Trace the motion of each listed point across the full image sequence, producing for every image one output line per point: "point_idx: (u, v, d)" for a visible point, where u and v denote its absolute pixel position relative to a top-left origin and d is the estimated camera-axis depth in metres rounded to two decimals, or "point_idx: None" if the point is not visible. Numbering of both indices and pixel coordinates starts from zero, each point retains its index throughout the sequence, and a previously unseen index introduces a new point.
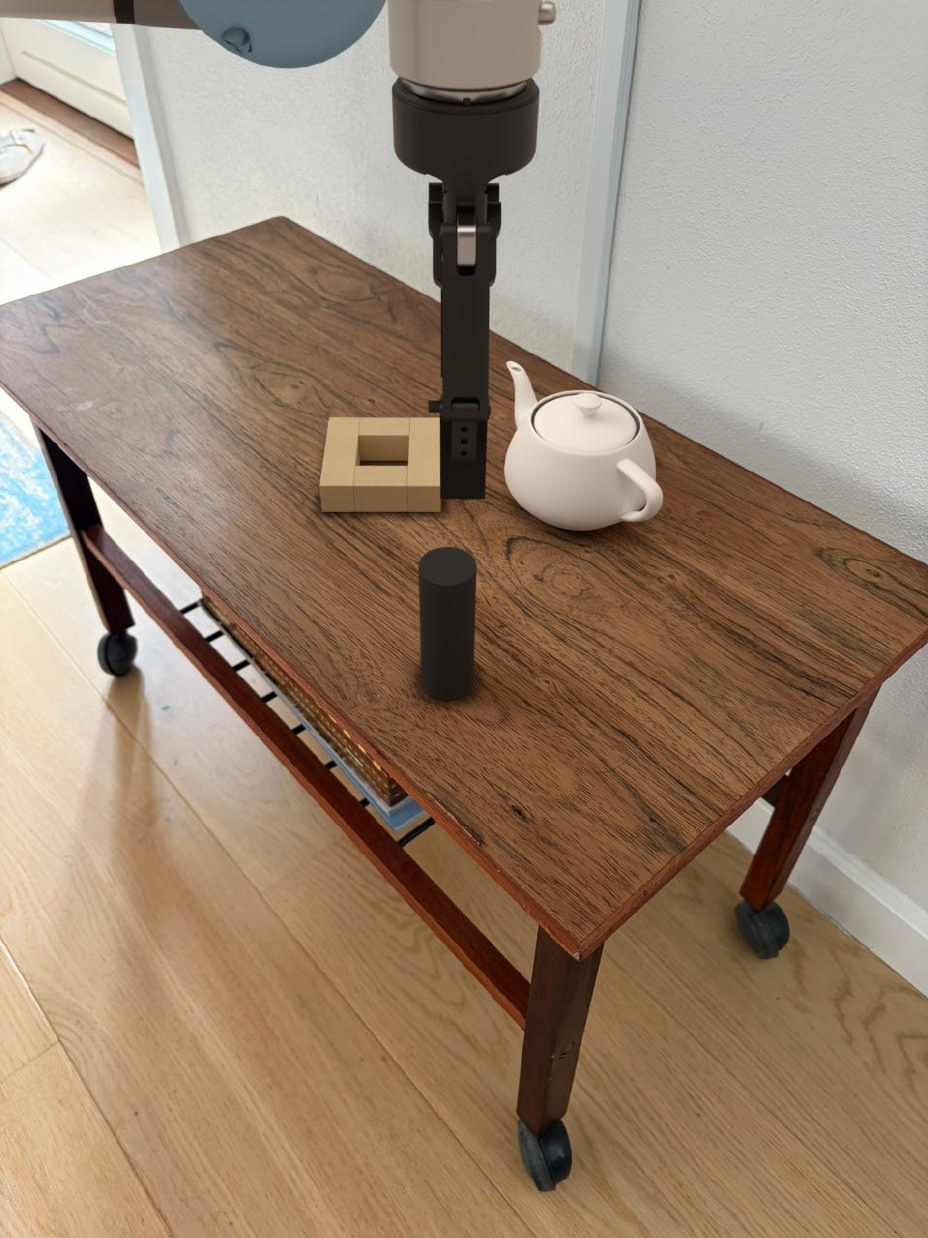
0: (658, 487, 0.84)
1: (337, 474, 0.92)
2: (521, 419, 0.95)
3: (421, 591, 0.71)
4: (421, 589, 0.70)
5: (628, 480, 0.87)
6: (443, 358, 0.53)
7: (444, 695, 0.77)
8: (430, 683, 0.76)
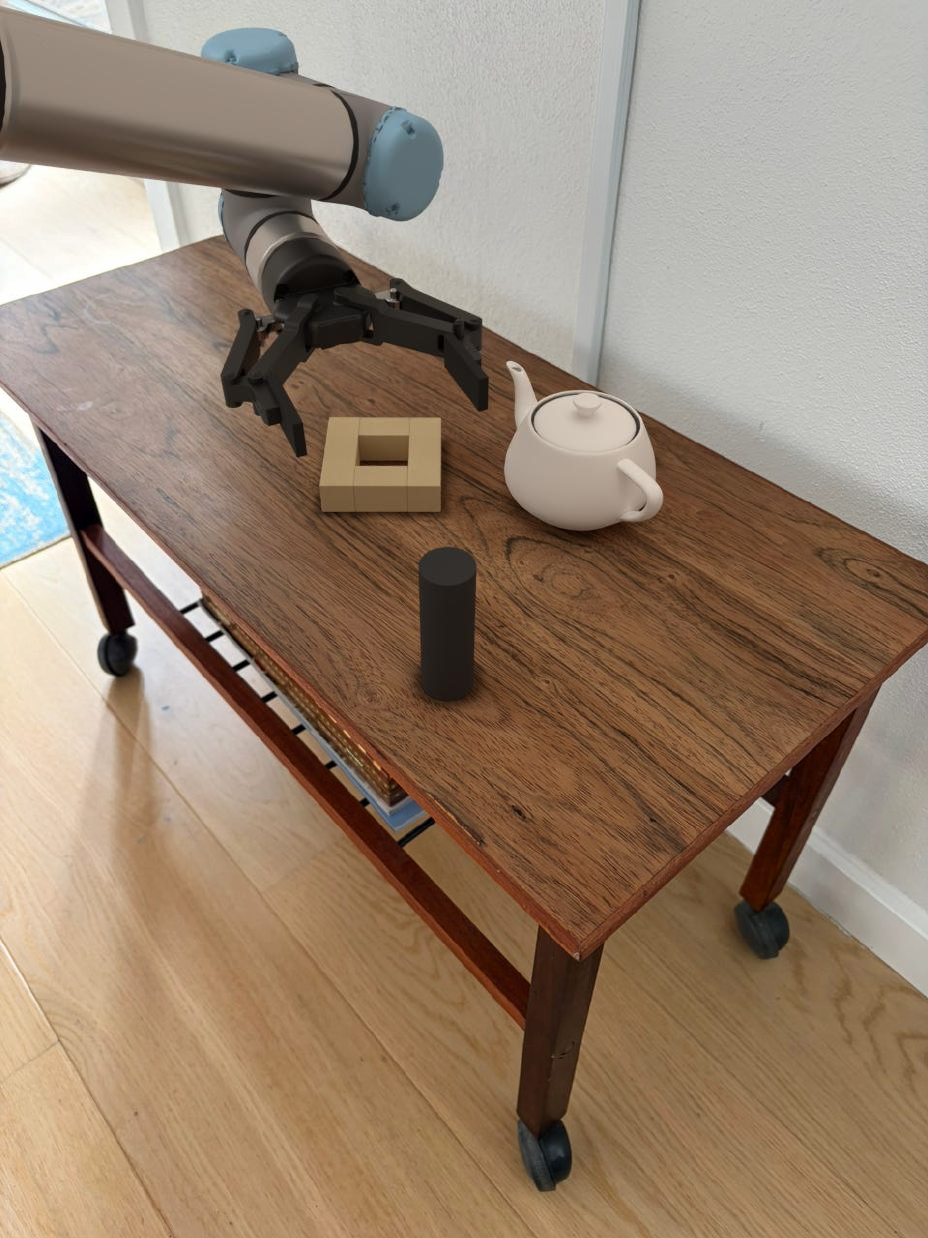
0: (658, 487, 0.84)
1: (337, 474, 0.92)
2: (521, 419, 0.95)
3: (421, 591, 0.71)
4: (421, 589, 0.70)
5: (628, 480, 0.87)
6: (452, 306, 0.79)
7: (444, 695, 0.77)
8: (430, 683, 0.76)
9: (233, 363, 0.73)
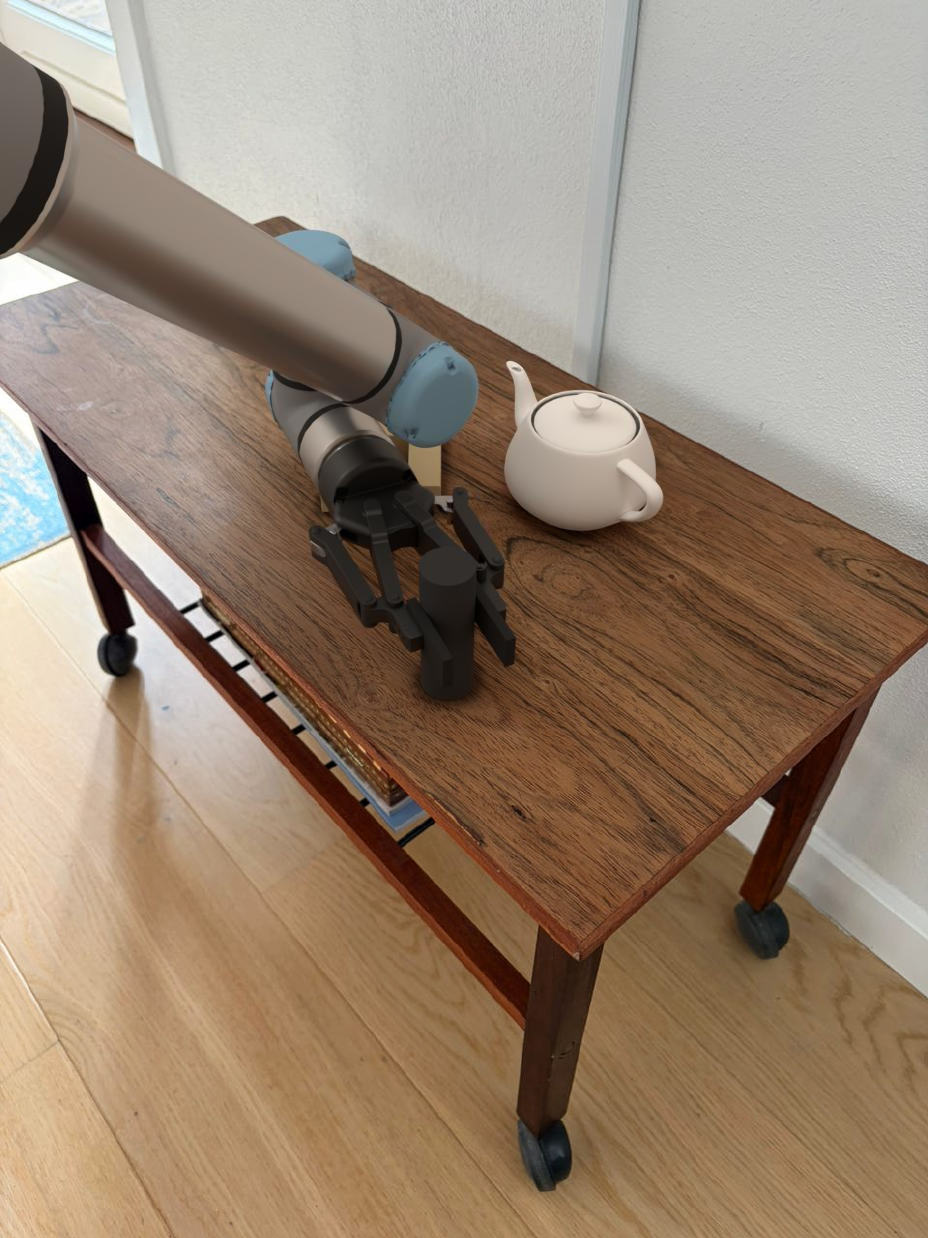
0: (658, 487, 0.84)
1: None
2: (521, 419, 0.95)
3: (421, 591, 0.71)
4: (421, 589, 0.70)
5: (628, 480, 0.87)
6: (489, 536, 0.77)
7: (444, 695, 0.77)
8: (430, 683, 0.76)
9: (360, 585, 0.73)
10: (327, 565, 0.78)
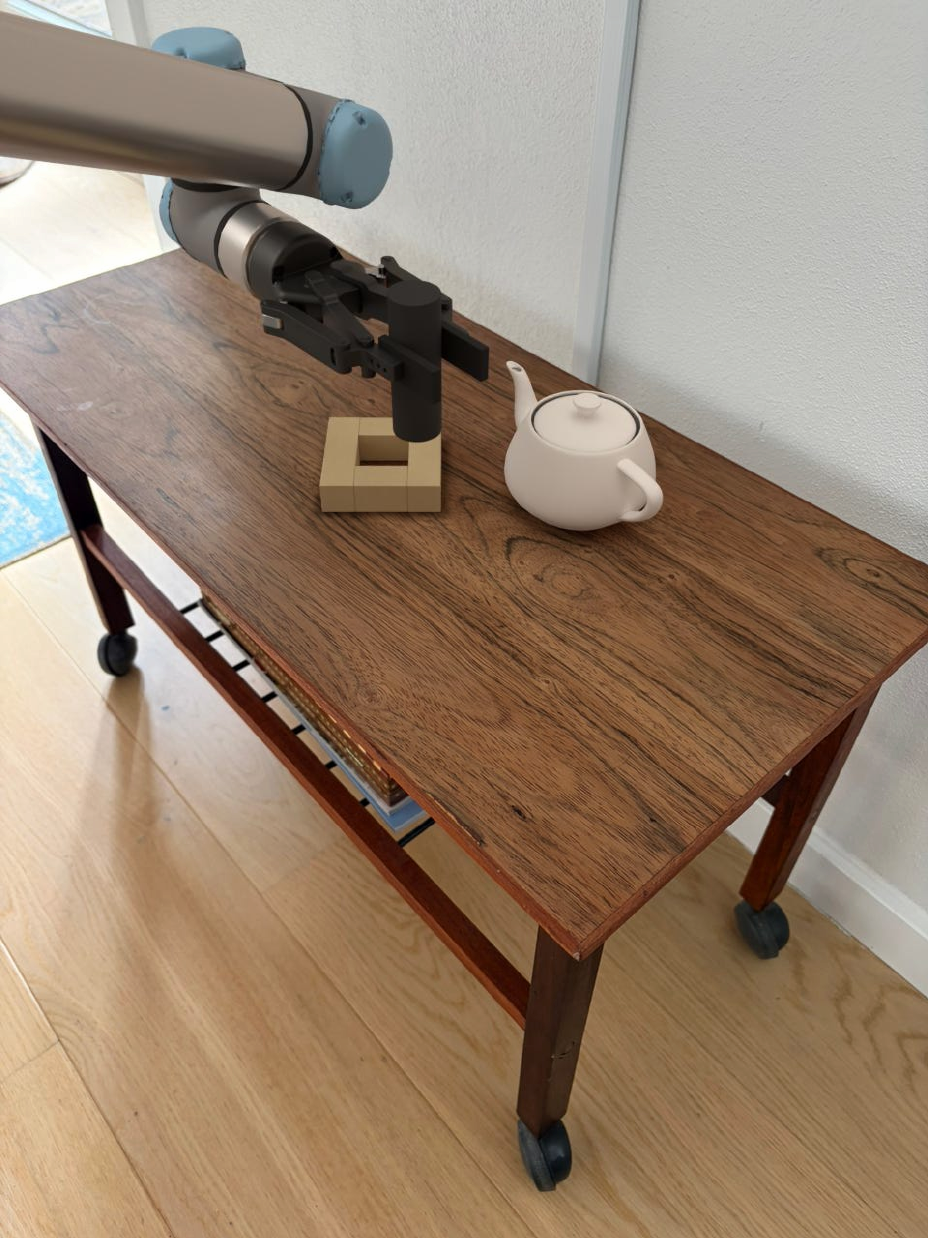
0: (658, 487, 0.84)
1: (337, 474, 0.92)
2: (521, 419, 0.95)
3: (394, 321, 0.75)
4: (393, 319, 0.75)
5: (628, 480, 0.87)
6: None
7: (420, 435, 0.82)
8: (406, 426, 0.81)
9: (330, 334, 0.77)
10: (284, 335, 0.81)
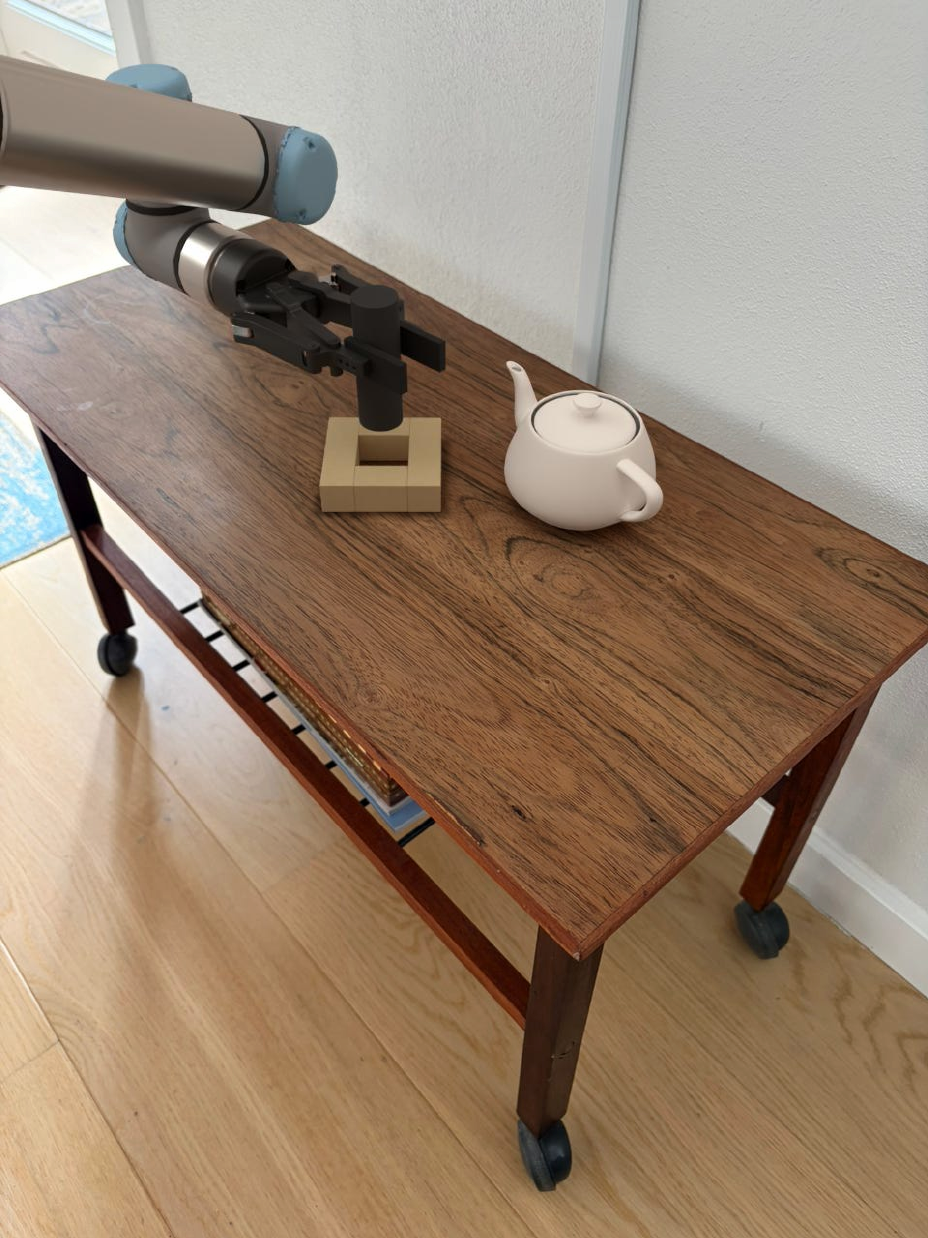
0: (658, 487, 0.84)
1: (337, 474, 0.92)
2: (521, 419, 0.95)
3: (358, 323, 0.84)
4: (358, 321, 0.84)
5: (628, 480, 0.87)
6: None
7: (386, 424, 0.90)
8: (373, 417, 0.90)
9: (300, 339, 0.85)
10: (254, 343, 0.89)
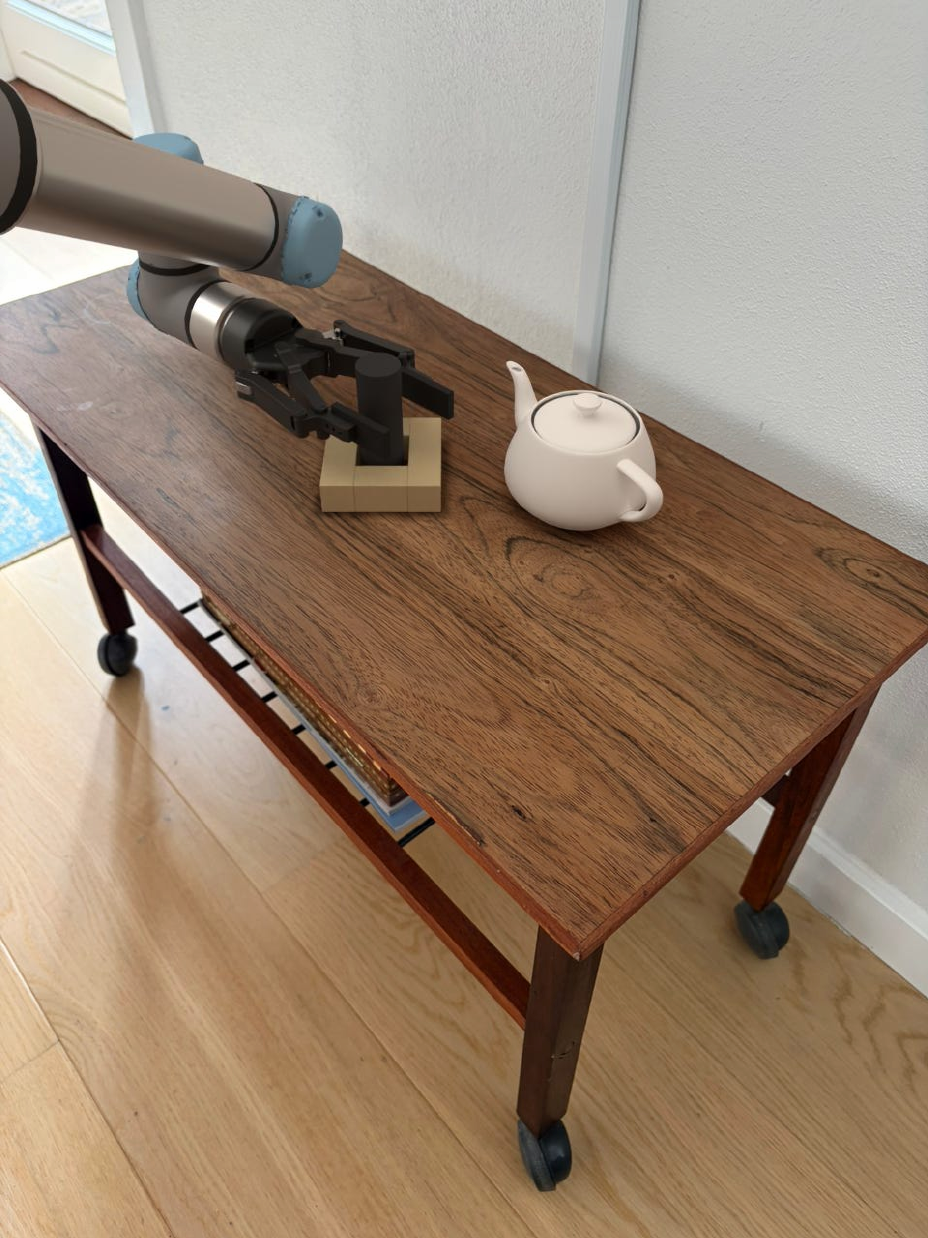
0: (658, 487, 0.84)
1: (337, 474, 0.92)
2: (521, 419, 0.95)
3: (363, 390, 0.88)
4: (363, 388, 0.88)
5: (628, 480, 0.87)
6: (388, 340, 0.97)
7: None
8: None
9: (290, 404, 0.89)
10: (254, 401, 0.93)
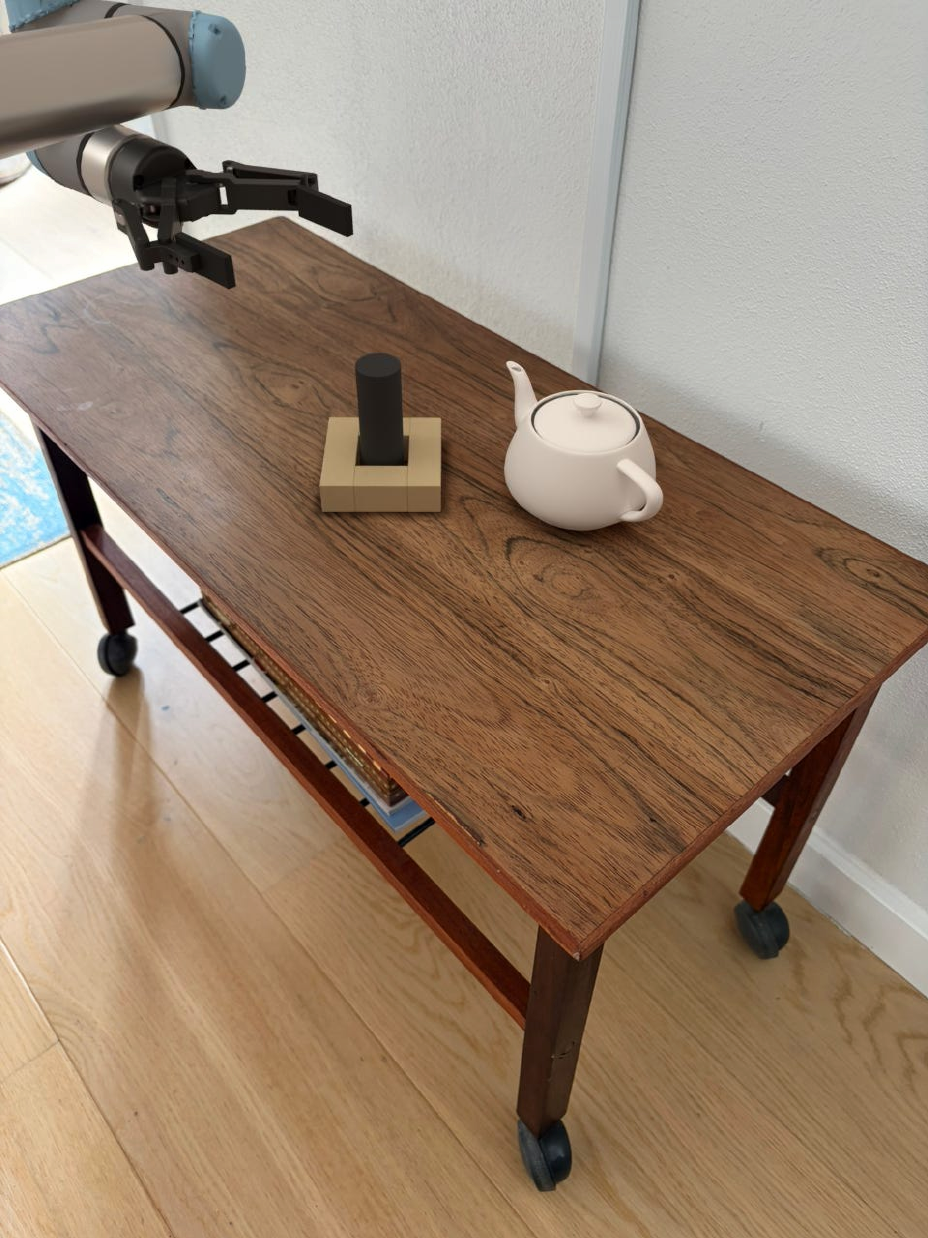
0: (658, 487, 0.84)
1: (337, 474, 0.92)
2: (521, 419, 0.95)
3: (363, 390, 0.88)
4: (363, 388, 0.88)
5: (628, 479, 0.87)
6: (286, 170, 0.96)
7: None
8: None
9: (139, 232, 0.86)
10: (126, 232, 0.91)
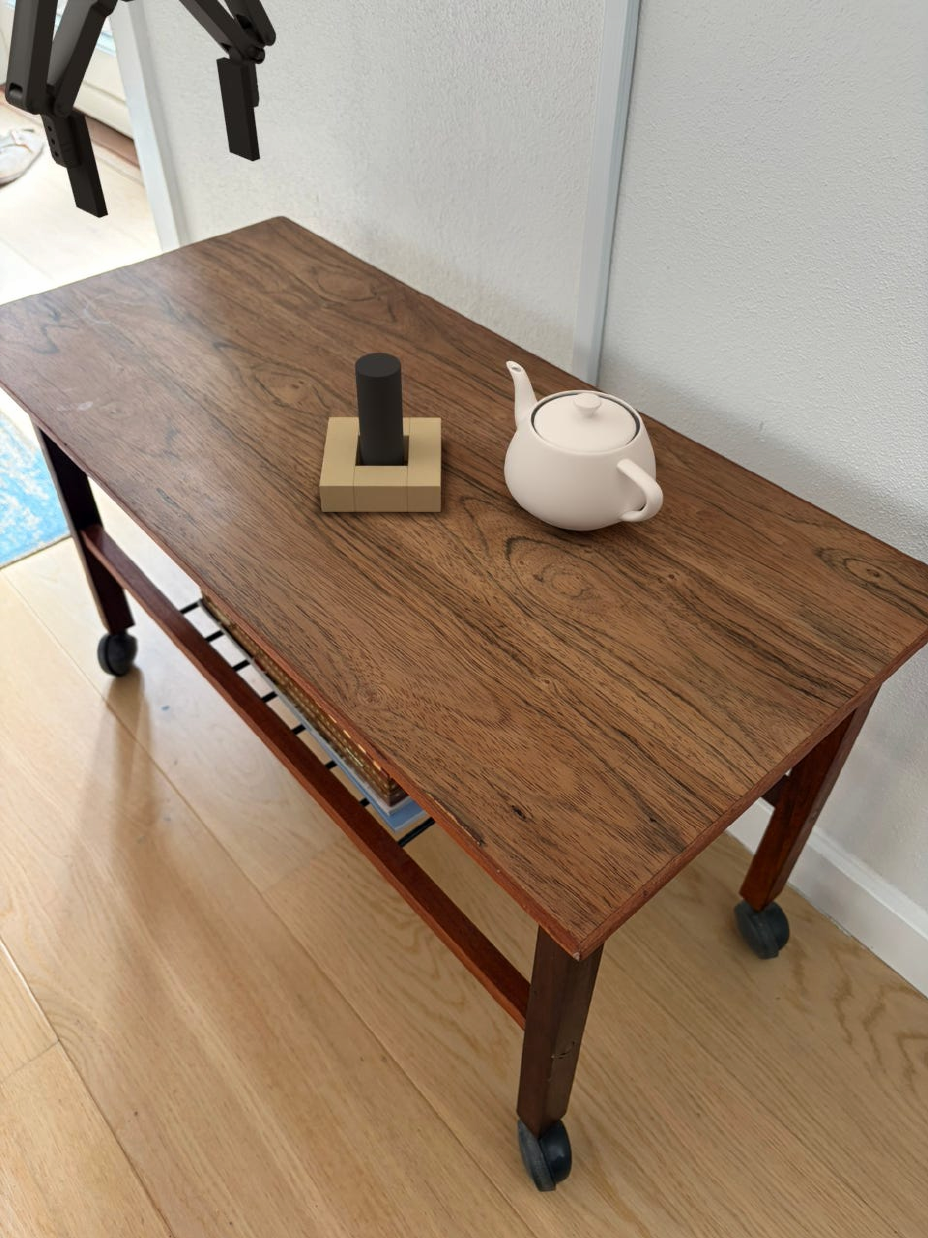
0: (658, 487, 0.84)
1: (337, 474, 0.92)
2: (521, 419, 0.95)
3: (363, 390, 0.88)
4: (363, 388, 0.88)
5: (628, 479, 0.87)
6: (10, 45, 0.62)
7: None
8: None
9: None
10: None
